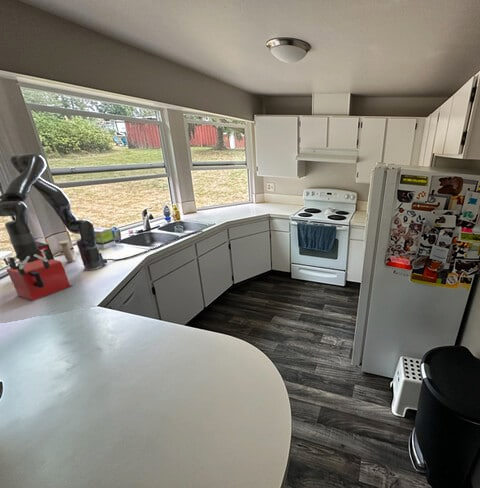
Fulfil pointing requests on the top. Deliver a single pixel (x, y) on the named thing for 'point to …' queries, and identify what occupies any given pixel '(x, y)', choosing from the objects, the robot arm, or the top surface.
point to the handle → (66, 250)
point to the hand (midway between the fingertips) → (36, 271)
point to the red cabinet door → (45, 280)
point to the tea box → (104, 237)
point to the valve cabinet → (19, 281)
